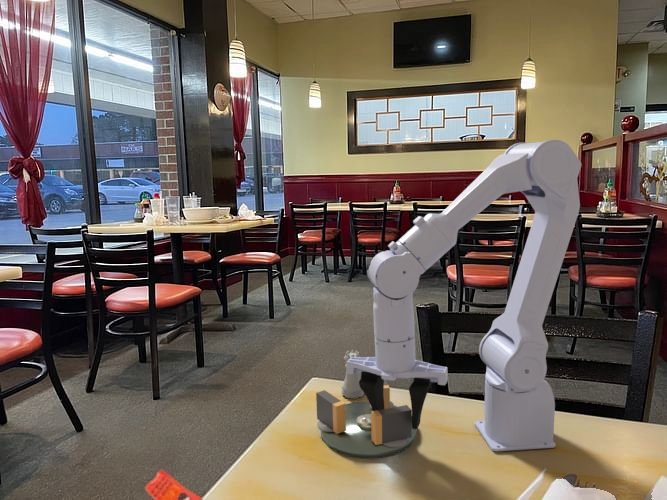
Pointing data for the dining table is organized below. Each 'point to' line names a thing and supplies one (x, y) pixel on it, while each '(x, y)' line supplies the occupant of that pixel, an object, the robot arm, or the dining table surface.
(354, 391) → the rook chess piece
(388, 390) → the grey block
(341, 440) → the base plate
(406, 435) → the knob
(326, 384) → the dining table surface
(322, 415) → the knob
